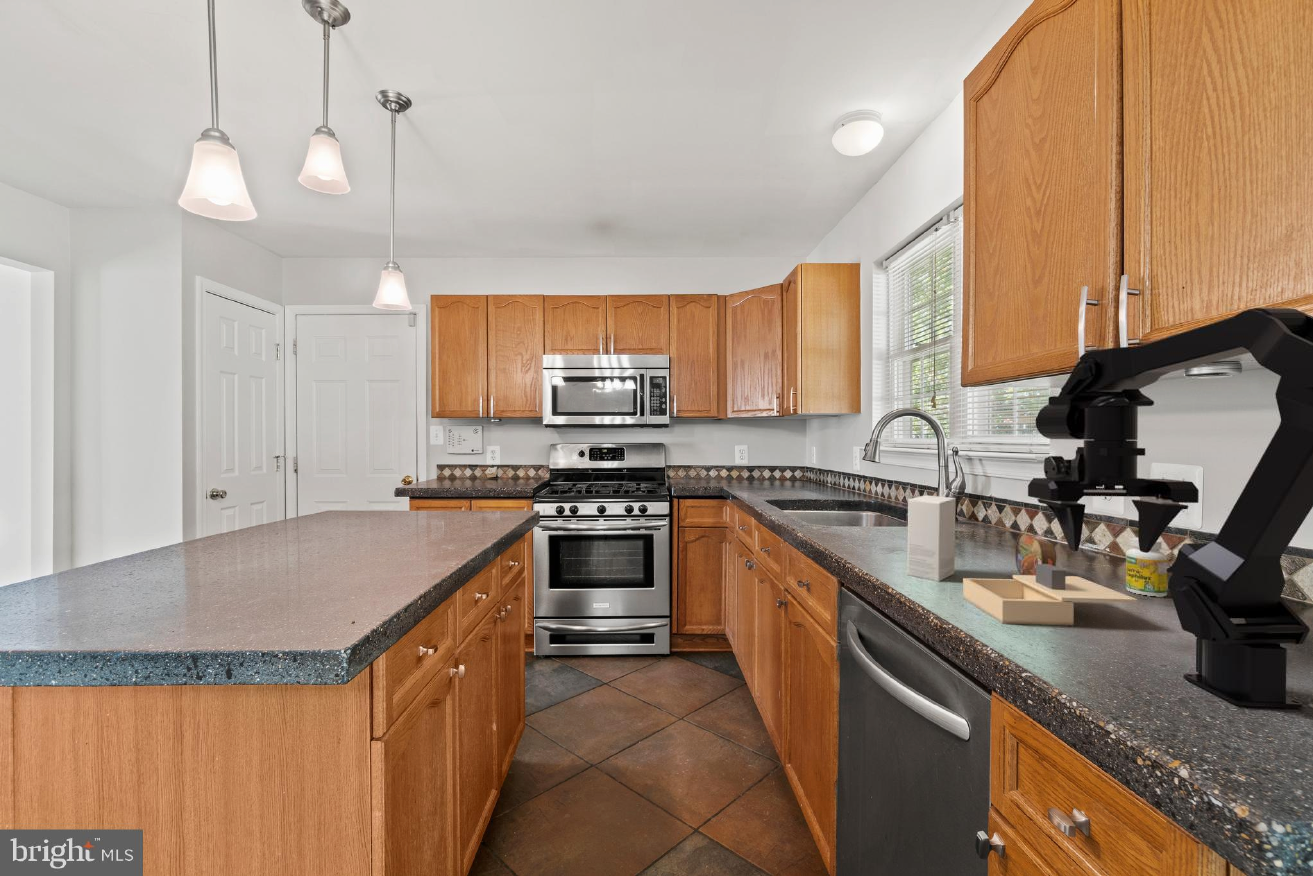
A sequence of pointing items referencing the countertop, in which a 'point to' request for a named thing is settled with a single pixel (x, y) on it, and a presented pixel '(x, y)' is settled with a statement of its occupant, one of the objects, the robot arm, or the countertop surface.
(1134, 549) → the supplement bottle
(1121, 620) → the countertop surface
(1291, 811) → the countertop surface
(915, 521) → the skincare box
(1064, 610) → the carton
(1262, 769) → the countertop surface
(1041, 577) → the carton lid
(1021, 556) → the tin
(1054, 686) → the countertop surface
